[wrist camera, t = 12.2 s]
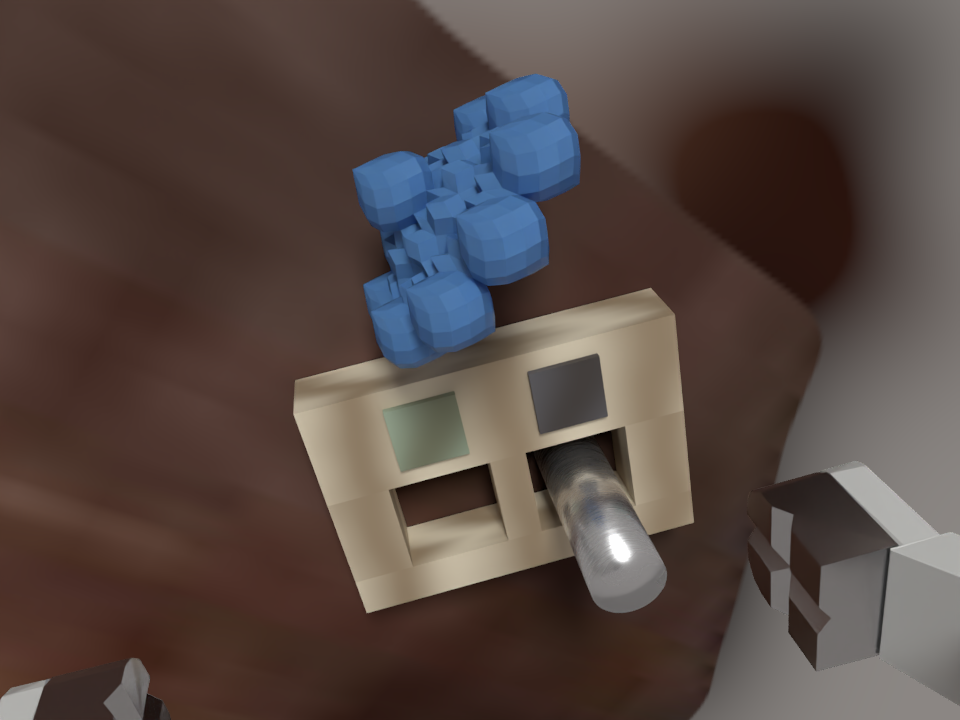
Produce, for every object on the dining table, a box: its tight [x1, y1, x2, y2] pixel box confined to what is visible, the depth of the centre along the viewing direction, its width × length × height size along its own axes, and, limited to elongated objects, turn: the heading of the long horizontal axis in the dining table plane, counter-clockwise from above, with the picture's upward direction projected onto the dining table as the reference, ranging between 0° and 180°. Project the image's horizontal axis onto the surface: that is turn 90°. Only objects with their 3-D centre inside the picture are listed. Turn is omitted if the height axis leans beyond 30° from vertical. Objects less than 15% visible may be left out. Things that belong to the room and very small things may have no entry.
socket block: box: [294, 288, 694, 613], centre depth 40 cm, size 17×12×3 cm
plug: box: [534, 435, 667, 613], centre depth 38 cm, size 3×3×10 cm
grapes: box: [353, 74, 580, 369], centre depth 29 cm, size 12×7×12 cm, turn 150°
